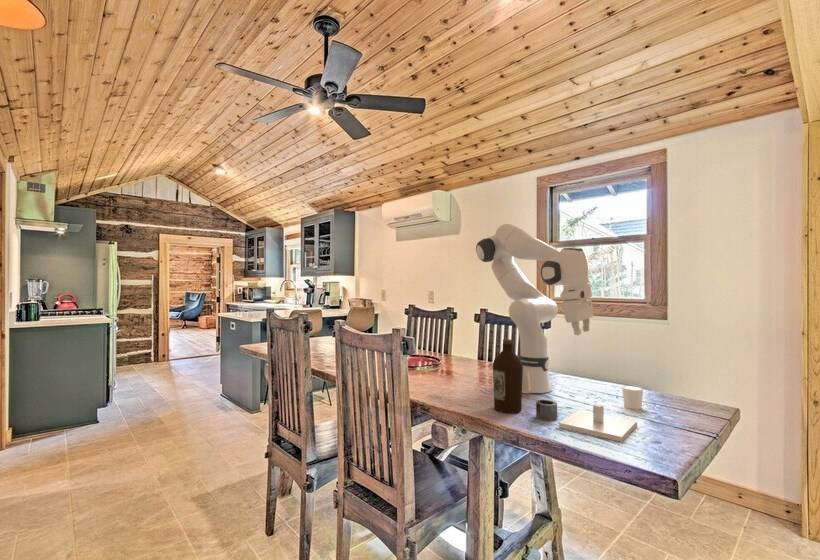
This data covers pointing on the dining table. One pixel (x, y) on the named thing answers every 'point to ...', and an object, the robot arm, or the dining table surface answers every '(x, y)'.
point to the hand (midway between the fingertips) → (582, 333)
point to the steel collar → (546, 409)
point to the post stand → (599, 424)
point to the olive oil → (507, 380)
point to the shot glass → (632, 397)
